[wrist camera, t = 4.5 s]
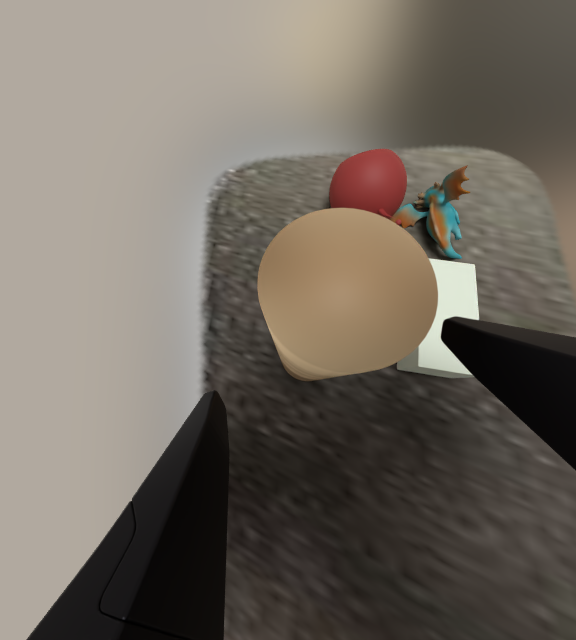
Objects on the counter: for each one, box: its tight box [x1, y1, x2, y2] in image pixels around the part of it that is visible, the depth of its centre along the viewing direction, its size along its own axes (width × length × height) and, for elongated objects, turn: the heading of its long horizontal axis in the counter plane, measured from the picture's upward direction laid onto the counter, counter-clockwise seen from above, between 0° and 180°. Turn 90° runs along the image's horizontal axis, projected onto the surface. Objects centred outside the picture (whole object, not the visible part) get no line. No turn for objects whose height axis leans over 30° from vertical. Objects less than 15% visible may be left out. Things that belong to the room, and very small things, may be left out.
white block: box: [397, 258, 479, 378], centre depth 17 cm, size 8×4×3 cm, turn 171°
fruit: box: [329, 149, 407, 225], centre depth 18 cm, size 6×6×8 cm
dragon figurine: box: [389, 166, 470, 259], centre depth 19 cm, size 6×7×8 cm
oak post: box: [258, 208, 438, 381], centre depth 11 cm, size 4×4×13 cm
